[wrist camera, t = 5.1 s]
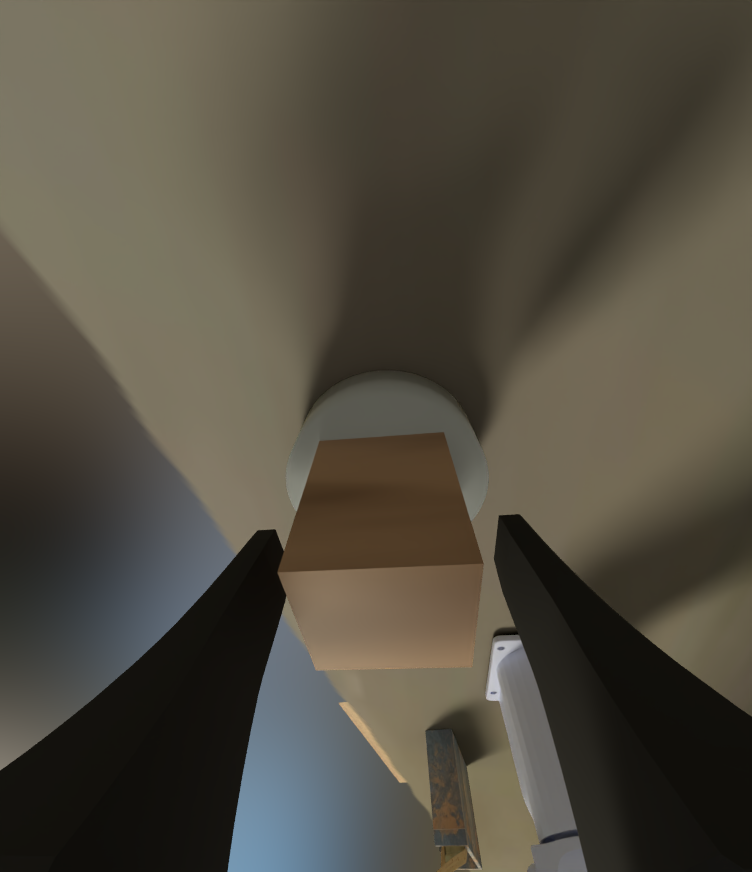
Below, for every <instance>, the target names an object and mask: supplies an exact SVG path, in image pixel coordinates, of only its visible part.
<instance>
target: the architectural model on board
mask: <svg viewBox="0 0 752 872" xmlns="http://www.w3.org/2000/svg"><path fill="white" fill-rule="evenodd" d="M339 704H340V706H341V707H342V708H343V710H344V711H345V712H346V714H347V715H348V716H349V717H350V719H351V720H352V721H353V723H354V724H355V725H356V727H357V728H358V729H359V731H360V732H361V733H362V734H363V736H364V737H365V738H366V740H367V741H368V742H369V743H370V745H371V746H372V747H373V749H374V750H375V751H376V753H377V754H378V755H379V757H380V758H381V759H382V760H383V762H384V763H385V764H386V766H387V767H388V768H389V770H390V771H391V772H392V773H393V775H394V776H395V777H396V779H397V780H398V781H399V783H403V782H404V783H405V782H406V781H405V780H404V778H403V777H402V776H401V775H400V774H399V773H398V772H397V771H396V769H395V768H394V767H393V765H392V764H391V761H390V760H389V757H388V756H387V755H386V753H385V752H384V751H383V749H382V748H381V747H380V746H379V745H378V743H377V742H376V741H375V740H374V737H373V736H372V733H371V732H370V730H369V728H368V726H367V725H366V724H365V723H364V722H363V721H362V719H361V718H360V717H359V716H358V714H357V713H356V712H355V711H354V710H353V709H352V708H351V707H350V705H349V704H348V703H347V702H341V703H339ZM426 743H427V755H428V767H429V779H430V791H431V804H432V816H433V828H434V840H435V846H439V849H440V852H441V868H440V869H439V870H438V871H436V872H453V871H455V870H456V869H482V864H481V858H480V851H479V845H478V838H477V832H476V825H475V819H474V812H473V806H472V799H471V793H470V786H469V780H468V773H467V767H466V764H465V761H464V759H463V756H462V754H461V751H460V749H459V746H458V744H457V741H456V739H455V736H454V734H453V731H452V729H441V730H428V731H426Z"/></svg>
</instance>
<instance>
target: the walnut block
mask: <svg viewBox="0 0 752 872" xmlns="http://www.w3.org/2000/svg"><path fill="white" fill-rule="evenodd" d="M277 573H278V575H279V578H280V580H281V583H282V586H283V588H284V591H285V593H286V596H287V598H288V601H289V603H290V606H291V608H292V611H293V613H294V616H295V618H296V621H297V623H298V626H299V629H300V631H301V634H302V636H303V639H304V641H305V644H306V646H307V649H308V651H309V654H310V656H311V659H312V661H313V664H314V666H315V669H316V670H355V669H402V668H449V667H472V663H473V654H474V645H475V636H476V627H477V618H478V609H479V600H480V591H481V582H482V573H483V560H482V557H481V554H480V550H479V547H478V544H477V540H476V537H475V534H474V530H473V527H472V524H471V520H470V517H469V514H468V510H467V507H466V504H465V501H464V497H463V494H462V491H461V487H460V484H459V481H458V477H457V474H456V471H455V467H454V464H453V461H452V457H451V454H450V451H449V447H448V444H447V441H446V438H445V434H444V432H438V433H424V434H410V435H396V436H382V437H368V438H354V439H340V440H325V441H319V444H318V447H317V450H316V453H315V456H314V459H313V463H312V466H311V469H310V472H309V475H308V478H307V481H306V484H305V488H304V491H303V494H302V497H301V500H300V503H299V506H298V509H297V513H296V516H295V519H294V522H293V525H292V528H291V531H290V535H289V538H288V541H287V544H286V547H285V550H284V553H283V556H282V560H281V563H280V566H279V569H278V572H277Z"/></svg>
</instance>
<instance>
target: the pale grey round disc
mask: <svg viewBox="0 0 752 872" xmlns="http://www.w3.org/2000/svg"><path fill="white" fill-rule="evenodd" d="M438 432H444V434H445V438H446V441H447V444H448V447H449V451H450V454H451V457H452V461H453V464H454V467H455V471H456V474H457V477H458V481H459V484H460V487H461V491H462V494H463V497H464V501H465V504H466V507H467V510H468V514H469V517H470V520H471V521H472V520H473V519H474V517H475V516H476V515H477V513H478V512H479V510H480V508H481V506H482V504H483V502H484V499H485V497H486V494H487V489H488V483H489V472H488V466H487V461H486V458H485V455H484V453H483V450H482V448H481V446H480V443H479V441H478V439H477V437H476V435H475V433H474V430H473V428H472V426H471V424H470V422H469V419H468V417H467V415H466V413H465V412H464V410H463V408H462V406H461V405H460V404H459V403H458V401H457V400H456V399H455V398H454V397H453V396H452V395H451V394H450V393H449V392H448V391H447V390H446V389H444V388H443V387H441V386H440V385H438V384H437V383H435V382H433V381H431V380H429V379H427V378H425V377H422V376H419V375H417V374H413V373H409V372H404V371H395V370H377V371H370V372H364V373H361V374H358V375H354V376H351V377H349V378H347V379H345V380H342V381H340V382H339V383H337V384H335V385H334V386H332V387H331V388H330V389H328V390H327V391H326V392H325V393H323V394H322V395H321V396H320V398H319V399H318V400H317V401H316V402H315V403H314V405H313V406H312V408H311V409H310V411H309V413H308V415H307V417H306V419H305V421H304V424H303V426H302V428H301V430H300V433H299V435H298V437H297V440H296V442H295V444H294V447H293V449H292V451H291V453H290V456H289V460H288V463H287V469H286V487H287V491H288V495H289V498H290V500H291V503H292V505H293V507H294V509H295V511H296V512H297V509H298V506H299V503H300V500H301V497H302V494H303V491H304V488H305V484H306V481H307V478H308V475H309V472H310V469H311V466H312V463H313V459H314V456H315V453H316V450H317V447H318V444H319V441H325V440H340V439H354V438H368V437H382V436H396V435H410V434H424V433H438Z"/></svg>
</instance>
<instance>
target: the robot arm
mask: <svg viewBox="0 0 752 872" xmlns="http://www.w3.org/2000/svg"><path fill="white" fill-rule="evenodd" d="M283 553H284V551H283V548H282V546H281V543H280V540H279V538H278V535H277V532H276V530H275V529H273V530H258V531H257V532H256V533H255V534H254V535H253V536H252V538H251V539H250V540H249V541H248V542H247V543H246V545H245V546H244V547H243V548H242V549H241V551H240V552H239V553H238V554H237V555H236V557H235V558H234V559H233V560H232V561H231V563H230V564H229V565H228V566H227V568H226V569H225V570H224V571H223V572H222V573H221V574H220V576H219V577H218V578H217V579H216V580H215V581H214V582H213V584H212V585H211V586H210V587H209V588H208V589H207V591H206V592H205V593H204V594H203V595H202V596H201V597H200V598H199V599H198V600H197V602H196V603H195V604H194V605H193V606H192V607H191V608H190V609H189V610H188V611H187V612H186V613H185V614H184V616H183V617H182V618H181V619H180V620H179V621H178V622H177V623H176V624H175V625H174V626H173V627H172V628H171V629H170V630H169V631H168V632H167V633H166V634H165V635H164V636H163V637H162V638H161V639H160V640H159V641H158V642H157V643H156V644H155V645H154V646H153V647H152V648H150V649H149V650H148V651H147V652H146V653H145V654H144V655H143V656H142V657H141V658H140V659H139V660H138V661H136V662H135V663H134V664H133V665H132V666H131V667H130V668H129V669H128V670H126V671H125V672H124V673H123V674H122V675H120V676H119V677H118V678H117V679H116V680H115V681H114V682H112V683H111V684H110V685H109V686H108V687H107V688H105V689H104V690H103V691H102V692H101V693H100V694H99V695H97V696H96V697H95V698H94V699H93V700H91V701H90V702H89V703H88V704H87V705H85V706H84V707H83V708H82V709H80V710H79V711H78V712H77V713H76V714H74V715H73V716H72V717H71V718H69V719H68V720H67V721H66V722H64V723H63V724H62V725H60V726H59V727H58V728H57V729H55V730H54V731H53V732H51V733H50V734H49V735H48V736H46V737H45V738H44V739H42V740H41V741H40V742H38V743H37V744H36V745H34V746H33V747H32V748H31V749H29V750H28V751H27V752H26V753H24V754H23V755H21V756H20V757H18V758H17V759H16V760H14V761H13V762H11V763H10V764H9V765H8V766H6V767H5V768H3V769H2V770H1V771H0V872H227V870H228V863H229V856H230V849H231V843H232V836H233V829H234V822H235V816H236V810H237V804H238V798H239V792H240V786H241V780H242V774H243V769H244V764H245V758H246V753H247V747H248V742H249V736H250V731H251V727H252V722H253V717H254V713H255V708H256V703H257V698H258V694H259V690H260V686H261V682H262V678H263V675H264V671H265V667H266V664H267V661H268V658H269V654H270V651H271V647H272V644H273V641H274V638H275V634H276V631H277V628H278V624H279V620H280V617H281V614H282V610H283V607H284V603H285V599H286V593H285V591H284V588H283V586H282V583H281V580H280V578H279V575H278V573H277V572H278V569H279V566H280V563H281V560H282V556H283ZM494 561H495V565H496V569H497V573H498V577H499V580H500V584H501V588H502V592H503V594H504V597H505V600H506V602H507V605H508V608H509V610H510V613H511V616H512V618H513V621H514V624H515V626H516V629H517V631H518V634H519V635H500V636H496V637H494V638H493V642H492V649H491V657H490V664H489V671H488V678H487V685H486V693H485V694H486V698H487V699H488V700H490V701H499V702H500V706H501V710H502V714H503V718H504V722H505V726H506V730H507V734H508V738H509V743H510V747H511V751H512V755H513V759H514V763H515V767H516V771H517V775H518V779H519V783H520V787H521V791H522V795H523V798H524V801H525V803H526V806H527V808H528V810H529V812H530V814H531V816H532V818H533V819H534V823H535V827H536V831H537V835H538V839H539V843H540V844H539V845H531V850H532V855H533V859H534V863H535V864H531V865H530V866H529V867H528V870H527V872H752V717H751V716H750V715H748V714H747V713H745V712H744V711H743V710H741V709H740V708H738V707H737V706H735V705H734V704H733V703H731V702H730V701H729V700H727V699H726V698H725V697H723V696H722V695H720V694H719V693H718V692H716V691H715V690H714V689H712V688H711V687H710V686H708V685H707V684H706V683H704V682H703V681H701V680H700V679H699V678H697V677H696V676H695V675H693V674H692V673H691V672H689V671H688V670H687V669H685V668H684V667H682V666H681V665H680V664H679V663H677V662H676V661H675V660H673V659H672V658H671V657H670V656H668V655H667V654H666V653H665V652H663V651H662V650H661V649H660V648H658V647H657V646H656V645H655V644H653V643H652V642H651V641H650V640H648V639H647V638H646V637H645V636H644V635H642V634H641V633H640V632H639V631H638V630H636V629H635V628H634V627H633V626H632V625H630V624H629V623H628V622H627V621H626V620H625V619H623V618H622V617H621V616H620V615H619V614H618V613H617V612H615V611H614V610H613V609H612V608H611V607H610V606H609V605H608V604H607V603H605V602H604V601H603V600H602V599H601V598H600V597H599V596H598V595H597V594H596V593H595V592H594V591H593V590H591V589H590V588H589V587H588V586H587V585H586V584H585V583H584V582H583V581H582V580H581V579H580V578H579V577H578V576H577V575H576V574H575V573H574V572H573V571H572V570H571V569H570V568H569V567H568V566H567V565H566V564H565V563H564V562H563V561H562V560H561V559H560V558H559V557H558V556H557V555H556V554H555V553H554V551H553V550H552V549H551V548H550V547H549V546H548V545H547V544H546V543H545V542H544V541H543V540H542V539H541V537H540V536H539V535H538V534H537V533H536V532H535V531H534V530H533V529H532V527H531V526H530V525H529V524H528V523H527V522H526V521H525V520H524V518H523V517H522V516H521V515H519V514H516V515H500V516H499V520H498V529H497V537H496V546H495V555H494Z"/></svg>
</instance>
